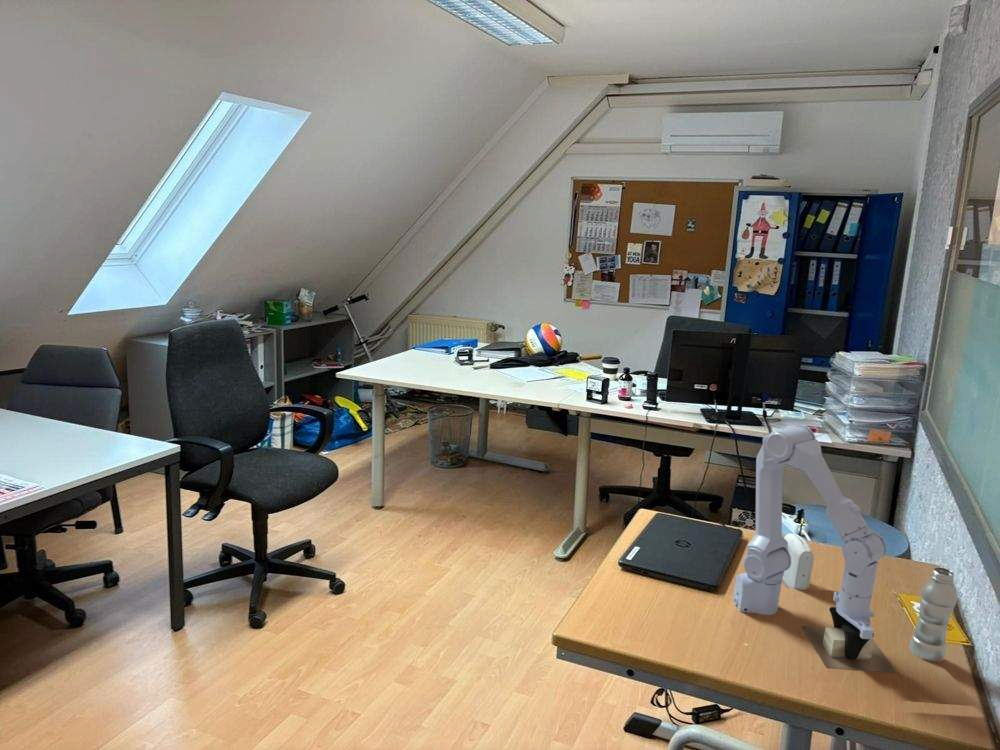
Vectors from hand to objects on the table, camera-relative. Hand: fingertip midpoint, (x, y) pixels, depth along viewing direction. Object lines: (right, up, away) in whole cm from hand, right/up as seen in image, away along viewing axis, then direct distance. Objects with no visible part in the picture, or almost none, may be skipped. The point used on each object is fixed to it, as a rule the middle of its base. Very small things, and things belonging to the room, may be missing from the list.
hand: (845, 650), depth 153 cm
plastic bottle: (+17, -3, +2) cm, 18 cm away
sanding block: (0, 0, 0) cm, 0 cm away
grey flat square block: (+1, -2, +2) cm, 3 cm away
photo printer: (+1, +5, +30) cm, 30 cm away
